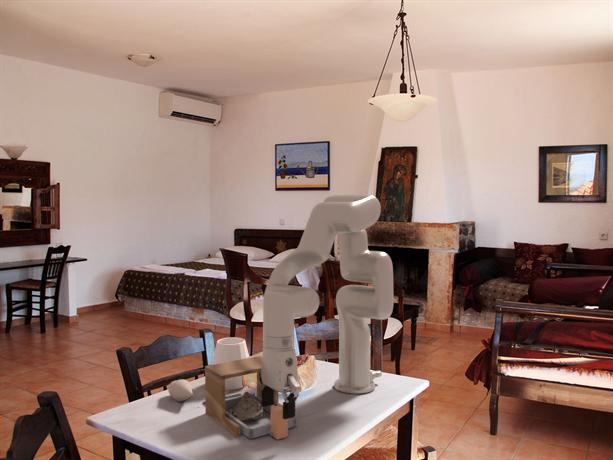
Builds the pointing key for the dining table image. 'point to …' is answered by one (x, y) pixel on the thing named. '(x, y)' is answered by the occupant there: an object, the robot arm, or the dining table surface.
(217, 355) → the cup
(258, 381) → the brown wooden arch frame
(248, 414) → the rock sample
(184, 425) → the dining table surface
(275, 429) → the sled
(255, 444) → the dining table surface
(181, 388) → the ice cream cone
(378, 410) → the dining table surface
